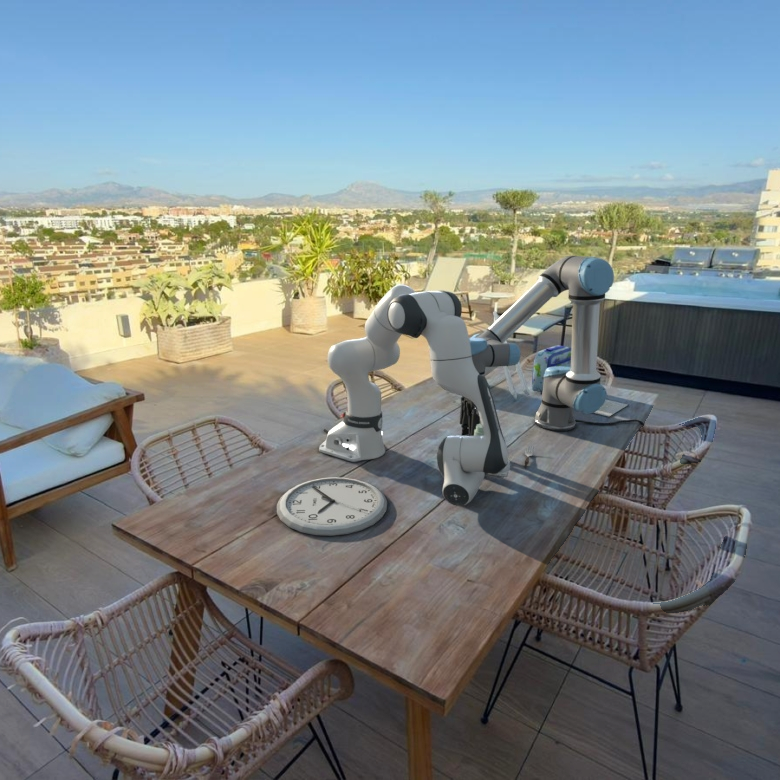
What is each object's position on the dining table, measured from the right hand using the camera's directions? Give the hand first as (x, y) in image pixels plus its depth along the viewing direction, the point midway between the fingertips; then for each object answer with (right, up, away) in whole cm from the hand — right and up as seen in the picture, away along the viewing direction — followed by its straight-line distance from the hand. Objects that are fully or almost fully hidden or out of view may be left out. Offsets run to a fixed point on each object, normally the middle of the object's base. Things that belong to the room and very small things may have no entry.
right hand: (467, 449), depth 180 cm
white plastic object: (+15, +19, +63) cm, 68 cm away
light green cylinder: (+1, -5, -16) cm, 17 cm away
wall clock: (-42, -11, -37) cm, 57 cm away
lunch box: (+50, +20, +68) cm, 87 cm away
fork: (+19, -3, -7) cm, 20 cm away
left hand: (+2, +1, -17) cm, 18 cm away
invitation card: (+65, +13, +46) cm, 81 cm away
